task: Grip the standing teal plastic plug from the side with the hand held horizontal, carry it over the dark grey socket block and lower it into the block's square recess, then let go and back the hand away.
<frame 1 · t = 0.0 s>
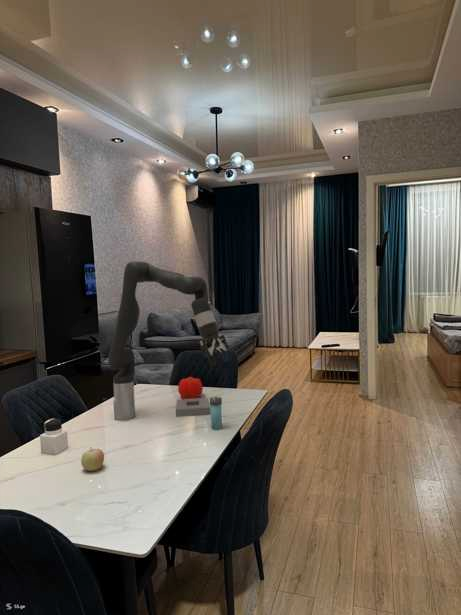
hand: (220, 363, 165), 31 cm above the table, tool tilted 20°, fingers open, 8 cm apart
fruit: (93, 469, 147), on the table
socket block: (193, 410, 207), on the table
tomato: (190, 398, 228), on the table
plug: (216, 428, 182), on the table
medicine bottle: (54, 450, 164), on the table
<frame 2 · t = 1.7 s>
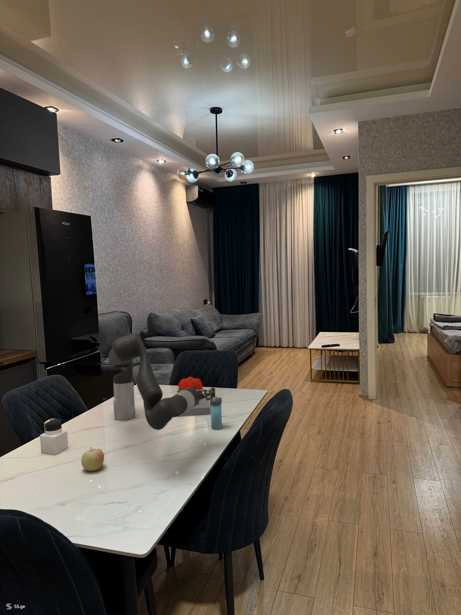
hand: (204, 389, 170), 20 cm above the table, tool horizontal, fingers open, 8 cm apart
nothing on the table moved.
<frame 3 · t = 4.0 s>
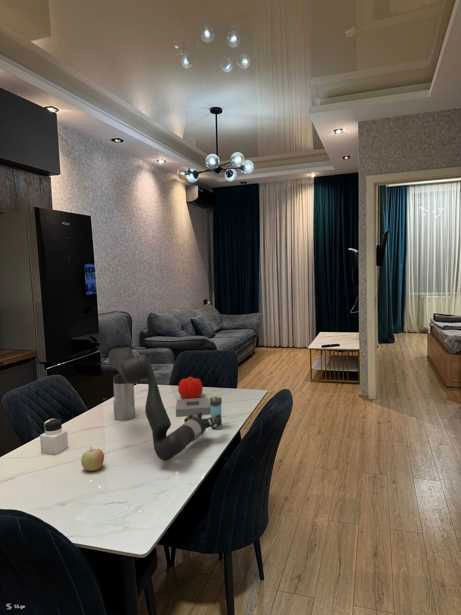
hand: (210, 415, 176), 7 cm above the table, tool horizontal, fingers open, 8 cm apart
nothing on the table moved.
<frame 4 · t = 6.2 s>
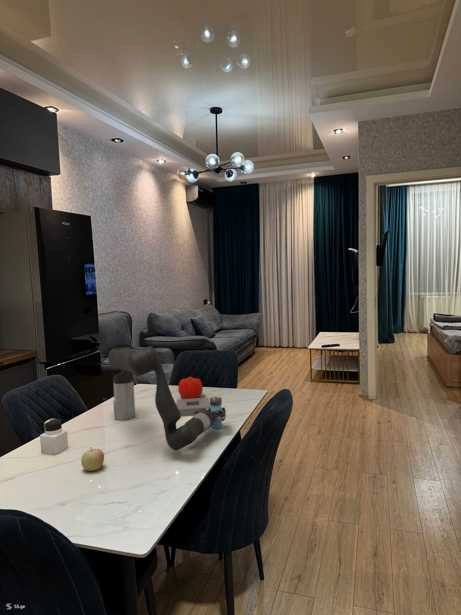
hand: (218, 409, 184), 8 cm above the table, tool horizontal, fingers closed on plug, 4 cm apart
plug: (216, 427, 182), on the table, touching gripper
everything else where it was.
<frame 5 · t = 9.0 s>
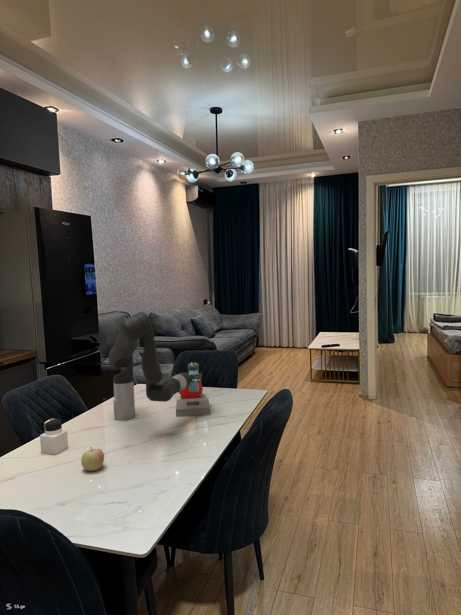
hand: (196, 374, 205), 18 cm above the table, tool horizontal, fingers closed on plug, 4 cm apart
plug: (194, 390, 203), point 10 cm above the table, touching gripper
everything else where it was.
when the fingers open (9 cm above the table, at t = 11.8 s): plug drops 2 cm, resting on socket block.
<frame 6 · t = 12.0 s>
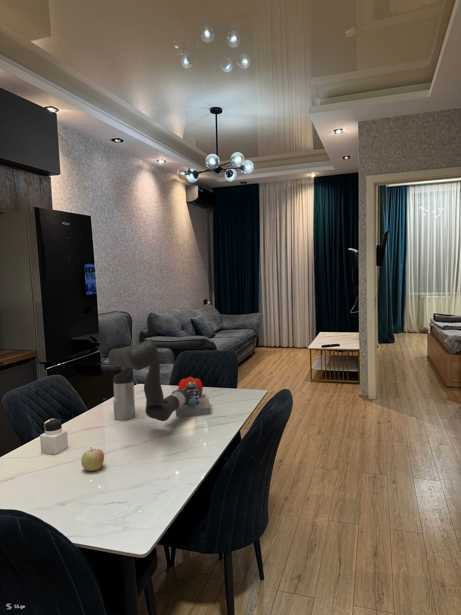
hand: (194, 390, 208), 9 cm above the table, tool horizontal, fingers open, 6 cm apart
plug: (193, 409, 206), resting on socket block
everything else where it was.
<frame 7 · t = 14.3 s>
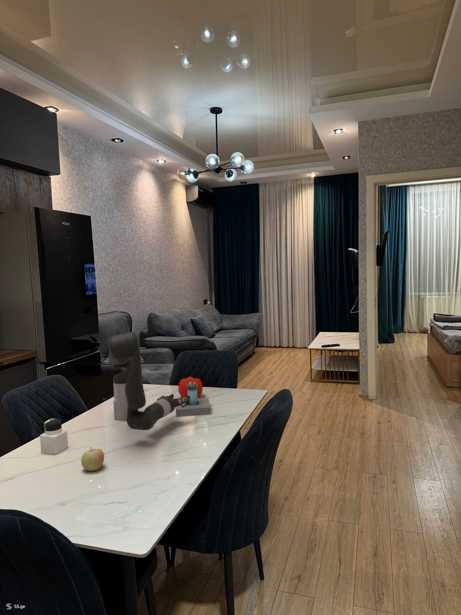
hand: (181, 396, 196), 10 cm above the table, tool horizontal, fingers open, 8 cm apart
nothing on the table moved.
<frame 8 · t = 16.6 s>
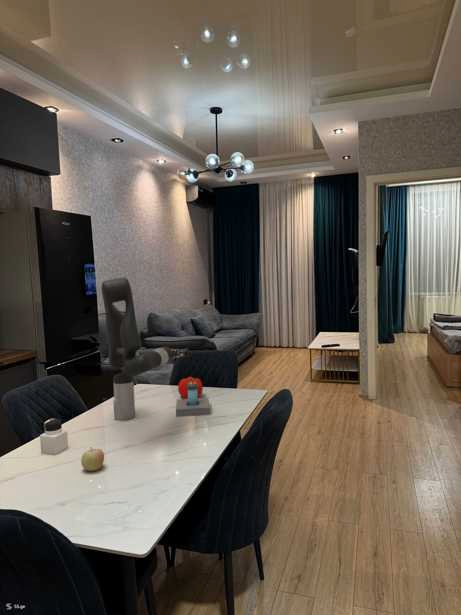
hand: (179, 350, 193), 32 cm above the table, tool horizontal, fingers open, 8 cm apart
nothing on the table moved.
at the end: plug 0.1 cm off-centre on the socket block, point 0.2 cm above the socket block's base; plug tilted 1°; the gripper is holding nothing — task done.
